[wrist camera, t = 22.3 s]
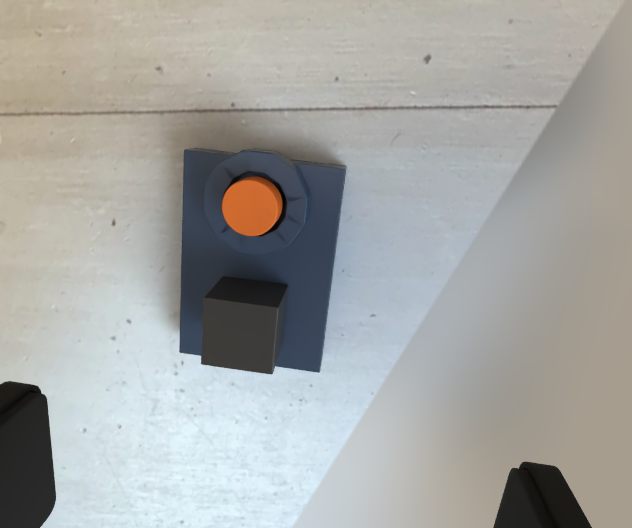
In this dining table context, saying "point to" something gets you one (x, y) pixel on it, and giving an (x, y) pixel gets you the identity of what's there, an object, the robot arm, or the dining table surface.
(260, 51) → the dining table surface
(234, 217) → the power button
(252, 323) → the block
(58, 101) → the dining table surface
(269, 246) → the button base
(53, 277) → the dining table surface
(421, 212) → the dining table surface
